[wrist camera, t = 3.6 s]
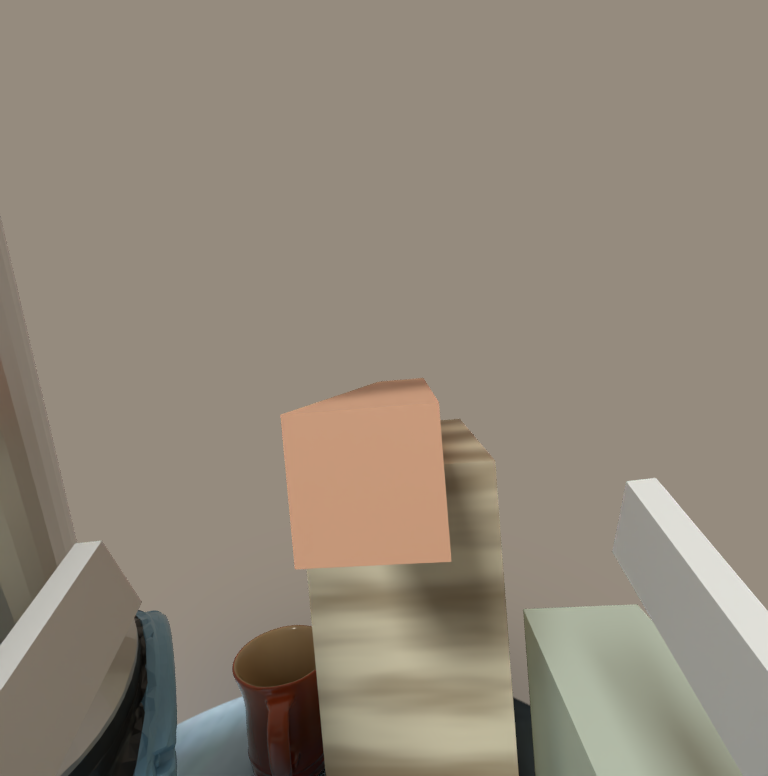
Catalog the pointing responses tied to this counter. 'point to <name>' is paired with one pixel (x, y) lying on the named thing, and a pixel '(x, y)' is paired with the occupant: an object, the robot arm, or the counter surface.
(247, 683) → the mug
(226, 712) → the counter surface
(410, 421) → the batten
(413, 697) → the stand
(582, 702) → the post low
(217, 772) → the counter surface
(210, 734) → the counter surface
